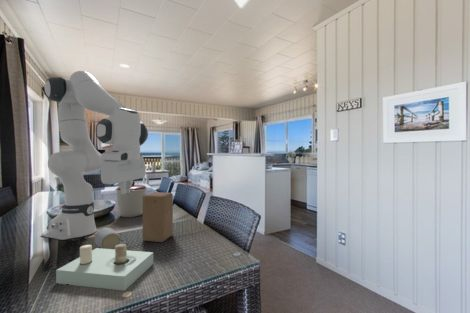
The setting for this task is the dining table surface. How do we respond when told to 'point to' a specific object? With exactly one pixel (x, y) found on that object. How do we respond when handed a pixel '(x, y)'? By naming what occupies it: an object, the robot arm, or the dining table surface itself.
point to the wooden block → (157, 216)
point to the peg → (120, 254)
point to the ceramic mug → (108, 238)
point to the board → (104, 269)
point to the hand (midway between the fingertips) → (125, 193)
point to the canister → (131, 200)
